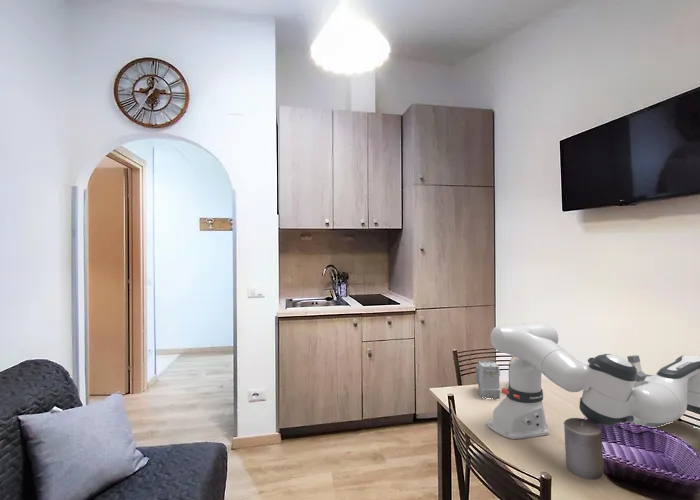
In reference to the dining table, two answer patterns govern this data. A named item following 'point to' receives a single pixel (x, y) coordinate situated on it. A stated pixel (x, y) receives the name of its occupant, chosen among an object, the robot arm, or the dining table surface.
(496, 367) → the circuit breaker
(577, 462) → the pillar candle
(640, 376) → the left lever
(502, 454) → the dining table surface
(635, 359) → the lever
